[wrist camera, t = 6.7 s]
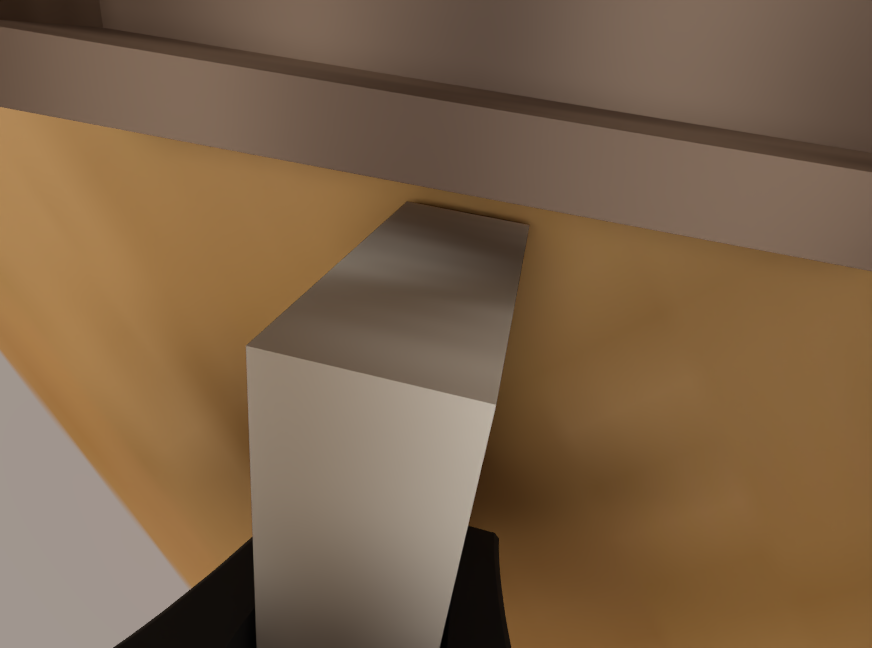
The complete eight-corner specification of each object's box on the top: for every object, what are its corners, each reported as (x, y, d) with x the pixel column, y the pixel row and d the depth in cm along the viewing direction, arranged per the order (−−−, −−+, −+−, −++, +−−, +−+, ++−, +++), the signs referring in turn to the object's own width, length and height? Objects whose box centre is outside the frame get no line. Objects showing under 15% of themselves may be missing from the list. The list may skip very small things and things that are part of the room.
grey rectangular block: (529, 224, 10) (495, 405, 5) (445, 597, 15) (384, 884, 10) (407, 201, 10) (246, 345, 5) (365, 574, 15) (263, 841, 10)
